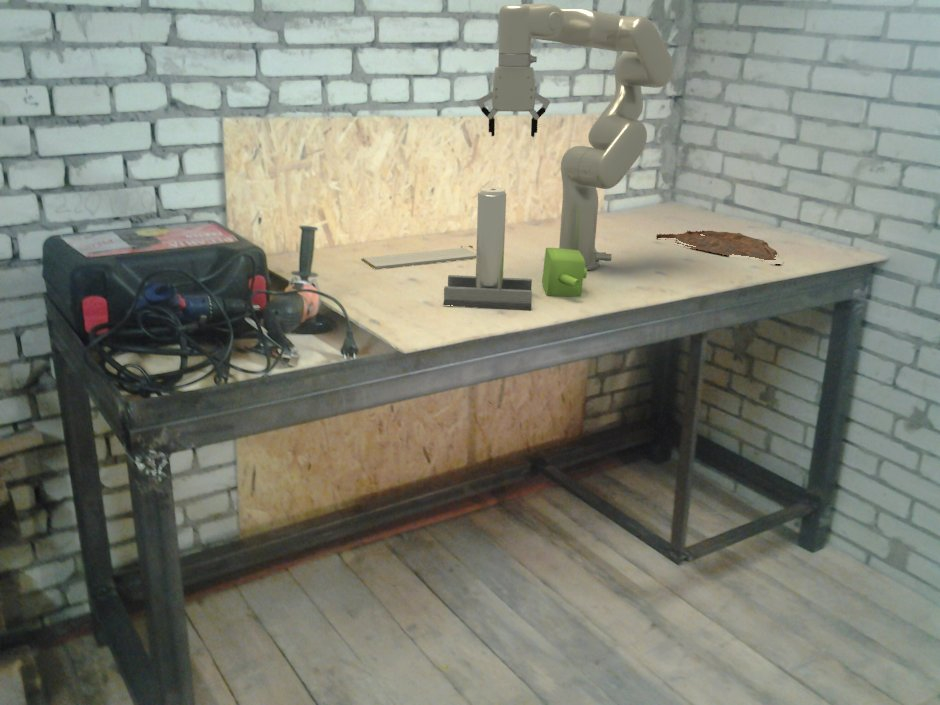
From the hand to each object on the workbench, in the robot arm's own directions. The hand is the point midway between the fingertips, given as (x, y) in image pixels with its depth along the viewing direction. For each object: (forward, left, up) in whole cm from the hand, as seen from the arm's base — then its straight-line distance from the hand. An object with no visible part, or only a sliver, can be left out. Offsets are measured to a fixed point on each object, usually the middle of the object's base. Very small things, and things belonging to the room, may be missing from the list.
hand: (512, 135), depth 211 cm
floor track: (+4, +20, -36) cm, 41 cm away
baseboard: (+24, -15, -36) cm, 46 cm away
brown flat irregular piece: (-67, -43, -37) cm, 88 cm away
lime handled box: (-15, +10, -36) cm, 40 cm away
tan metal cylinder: (+4, +20, -35) cm, 40 cm away
